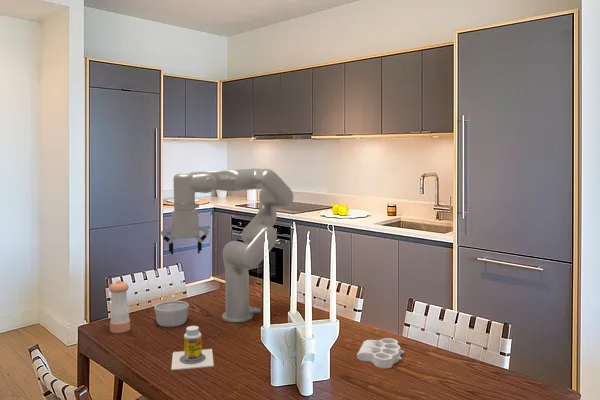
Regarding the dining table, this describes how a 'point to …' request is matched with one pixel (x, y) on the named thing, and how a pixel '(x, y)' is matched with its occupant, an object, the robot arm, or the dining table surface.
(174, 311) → the ramekin
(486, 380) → the dining table surface
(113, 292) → the salt shaker
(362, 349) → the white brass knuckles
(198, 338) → the supplement bottle
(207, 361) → the card
